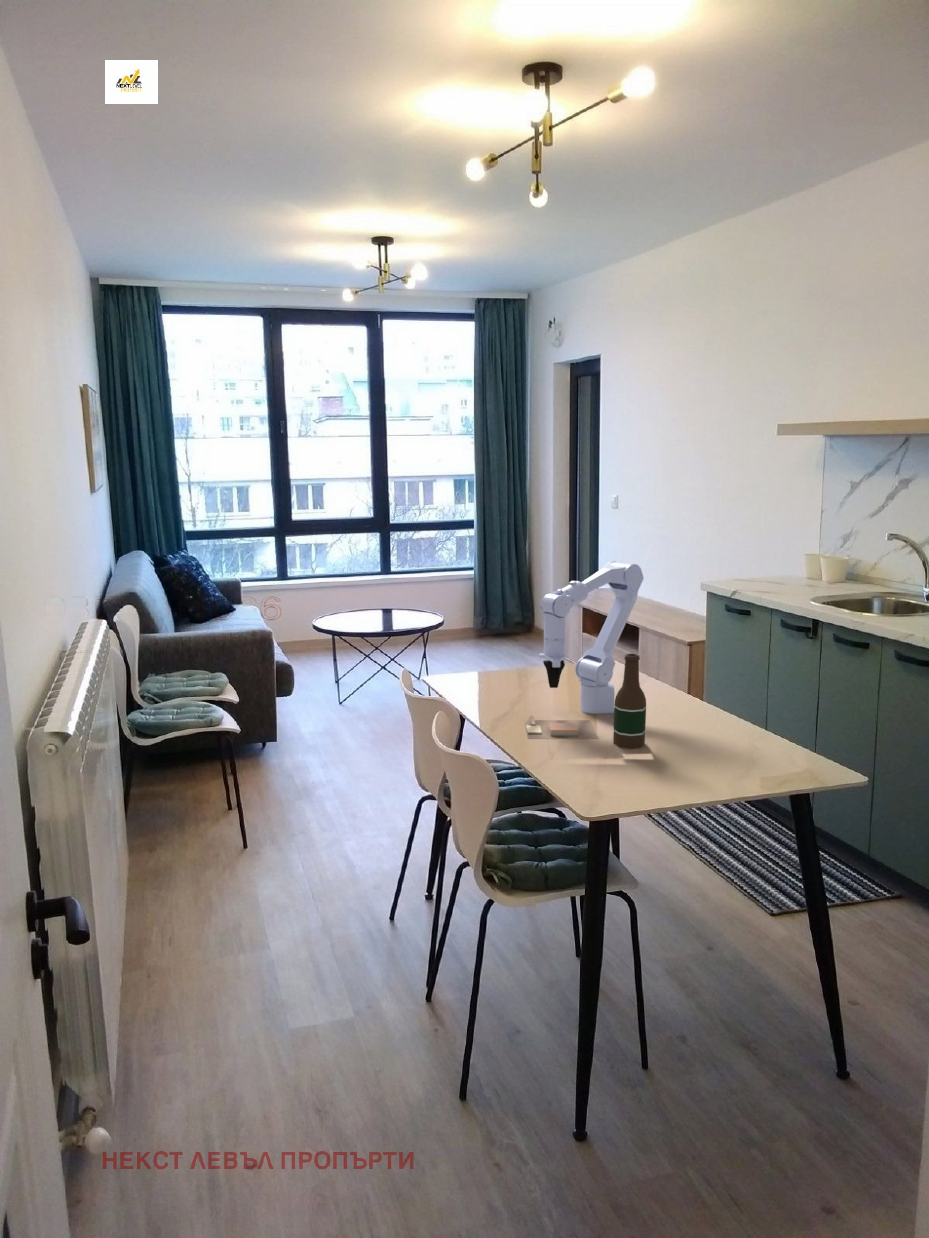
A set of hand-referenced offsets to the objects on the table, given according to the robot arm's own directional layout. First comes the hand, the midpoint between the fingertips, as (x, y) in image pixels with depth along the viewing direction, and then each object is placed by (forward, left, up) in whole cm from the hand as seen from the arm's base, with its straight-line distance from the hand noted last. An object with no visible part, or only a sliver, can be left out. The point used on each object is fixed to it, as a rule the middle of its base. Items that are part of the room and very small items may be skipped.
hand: (553, 687), depth 243 cm
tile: (-2, +10, -8) cm, 13 cm away
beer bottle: (-17, +22, -10) cm, 30 cm away
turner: (+6, +8, -9) cm, 13 cm away
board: (-1, +10, -10) cm, 14 cm away
